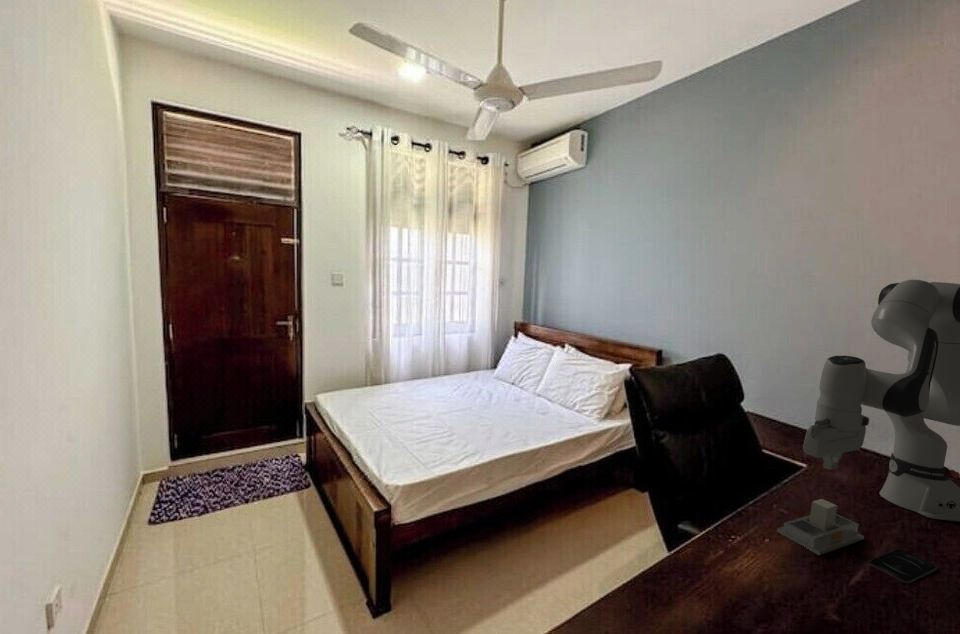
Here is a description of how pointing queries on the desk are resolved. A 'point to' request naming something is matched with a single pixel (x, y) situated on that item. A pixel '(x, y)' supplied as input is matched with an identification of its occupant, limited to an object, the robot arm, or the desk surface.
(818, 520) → the block
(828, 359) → the robot arm
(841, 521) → the rack
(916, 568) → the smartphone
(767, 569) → the desk surface
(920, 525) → the desk surface
